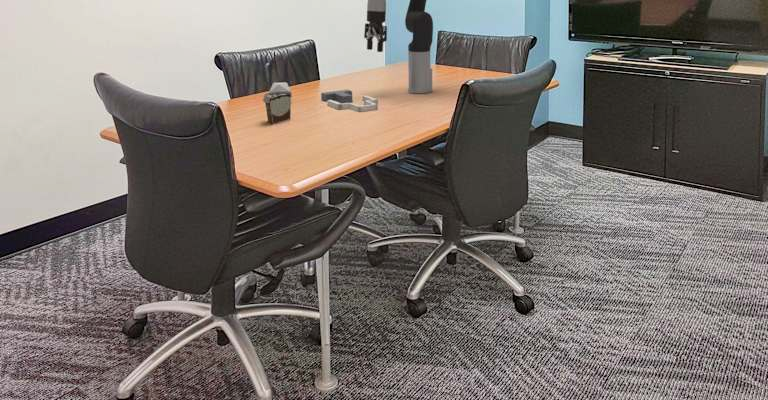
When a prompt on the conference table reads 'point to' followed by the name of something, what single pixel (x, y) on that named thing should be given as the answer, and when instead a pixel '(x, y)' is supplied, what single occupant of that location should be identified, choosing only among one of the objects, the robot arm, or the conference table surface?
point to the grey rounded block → (280, 87)
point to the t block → (338, 96)
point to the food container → (278, 106)
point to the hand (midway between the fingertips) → (374, 50)
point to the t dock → (368, 105)
